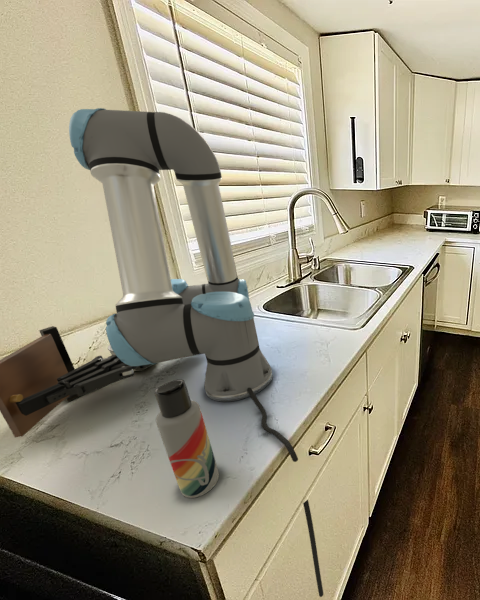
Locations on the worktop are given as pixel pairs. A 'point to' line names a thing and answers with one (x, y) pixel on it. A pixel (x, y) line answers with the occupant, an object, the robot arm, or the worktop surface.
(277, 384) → the worktop surface
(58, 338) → the door post
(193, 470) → the lotion bottle
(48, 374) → the door
